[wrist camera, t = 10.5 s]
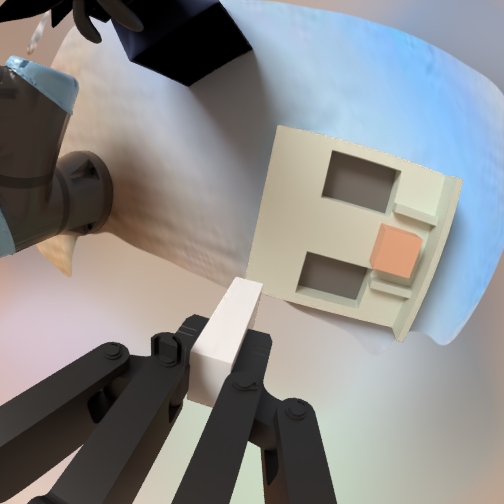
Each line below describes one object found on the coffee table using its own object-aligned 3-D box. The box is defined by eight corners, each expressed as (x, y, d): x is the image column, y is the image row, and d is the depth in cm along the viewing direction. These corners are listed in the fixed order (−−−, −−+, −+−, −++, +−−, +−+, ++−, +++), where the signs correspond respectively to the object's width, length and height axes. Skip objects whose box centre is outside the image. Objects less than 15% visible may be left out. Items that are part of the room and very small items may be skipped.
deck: (247, 279, 43) (235, 299, 37) (280, 127, 35) (273, 120, 29) (393, 318, 40) (402, 342, 34) (442, 176, 32) (463, 179, 26)
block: (369, 259, 35) (373, 268, 32) (381, 222, 33) (386, 228, 30) (403, 269, 34) (409, 278, 31) (415, 233, 33) (423, 240, 30)
